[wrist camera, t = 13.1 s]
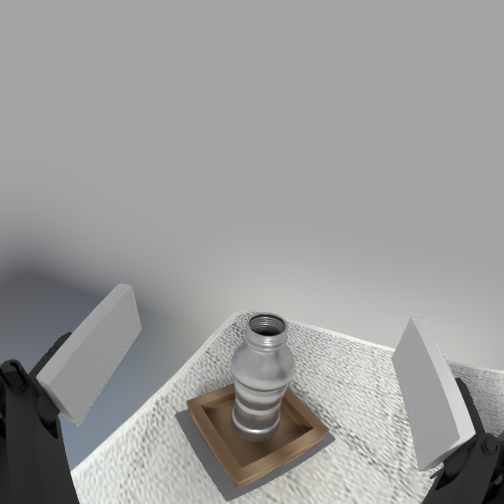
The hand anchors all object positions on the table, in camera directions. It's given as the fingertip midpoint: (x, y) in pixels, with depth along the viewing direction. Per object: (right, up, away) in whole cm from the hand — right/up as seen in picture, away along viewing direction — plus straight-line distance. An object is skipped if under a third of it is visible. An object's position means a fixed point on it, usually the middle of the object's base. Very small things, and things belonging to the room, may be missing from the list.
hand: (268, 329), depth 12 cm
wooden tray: (0, -22, +21) cm, 31 cm away
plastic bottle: (0, -21, +21) cm, 30 cm away
